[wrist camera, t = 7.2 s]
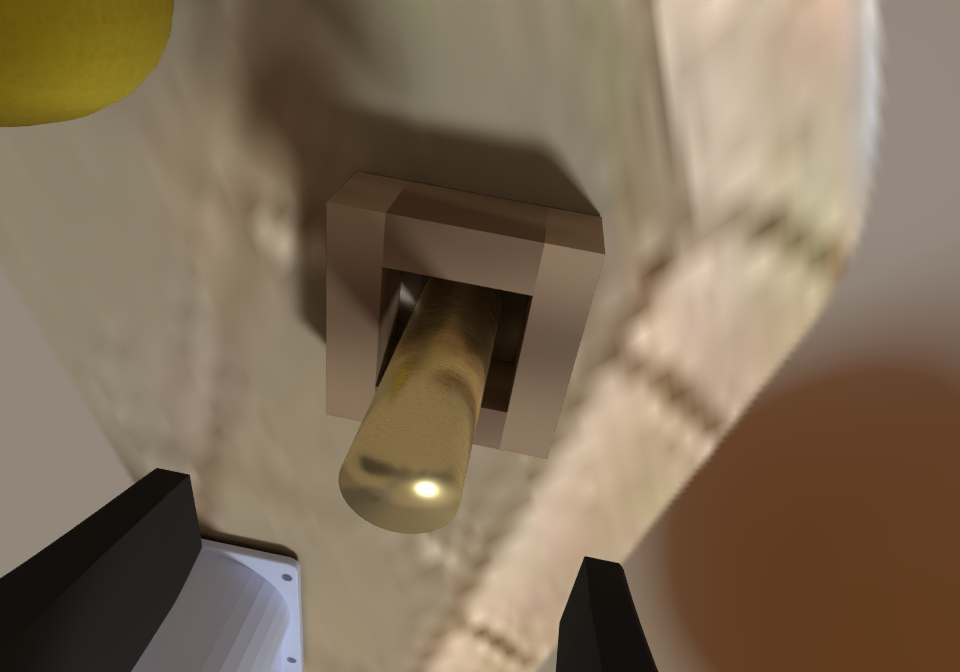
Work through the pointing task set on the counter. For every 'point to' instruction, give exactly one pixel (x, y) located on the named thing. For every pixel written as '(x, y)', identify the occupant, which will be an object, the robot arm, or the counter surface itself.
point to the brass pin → (425, 412)
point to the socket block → (469, 259)
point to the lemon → (75, 55)
